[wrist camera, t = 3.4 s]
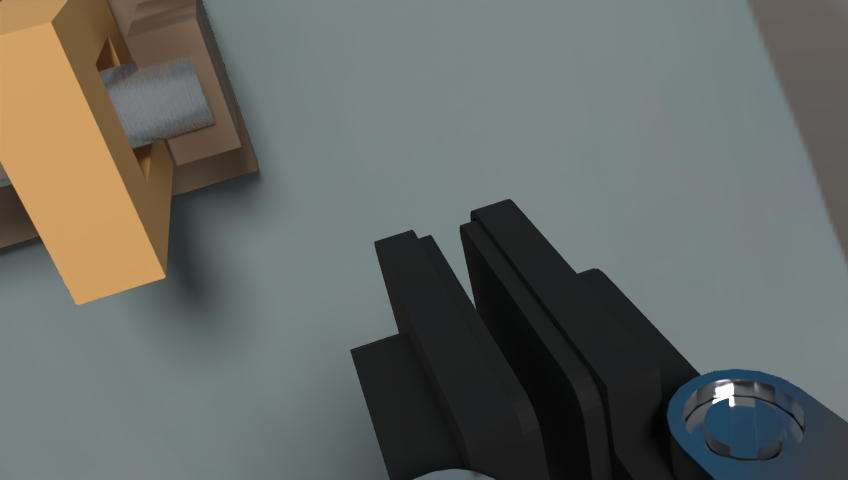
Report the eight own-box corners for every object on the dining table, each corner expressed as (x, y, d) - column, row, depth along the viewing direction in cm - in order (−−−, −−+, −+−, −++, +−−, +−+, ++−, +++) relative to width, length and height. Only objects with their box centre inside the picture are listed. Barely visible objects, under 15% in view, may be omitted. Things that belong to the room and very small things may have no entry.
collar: (92, -32, 25) (51, 21, 17) (173, 164, 28) (166, 277, 21) (16, -12, 24) (-59, 51, 17) (107, 183, 28) (77, 305, 21)
